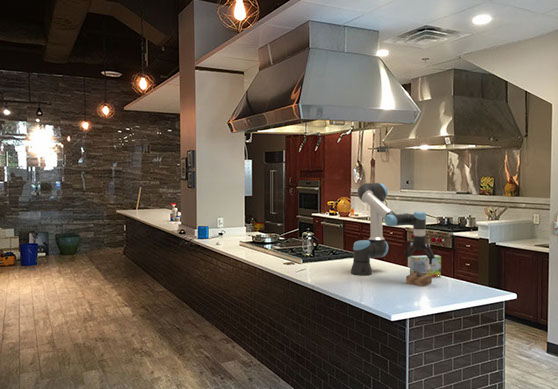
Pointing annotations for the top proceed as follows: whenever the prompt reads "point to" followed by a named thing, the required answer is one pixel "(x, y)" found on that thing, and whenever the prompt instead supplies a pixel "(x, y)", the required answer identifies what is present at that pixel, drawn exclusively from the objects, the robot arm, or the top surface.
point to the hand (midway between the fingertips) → (419, 268)
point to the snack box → (435, 265)
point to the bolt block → (418, 279)
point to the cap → (419, 266)
